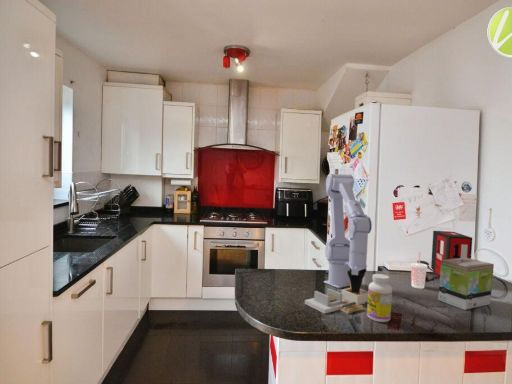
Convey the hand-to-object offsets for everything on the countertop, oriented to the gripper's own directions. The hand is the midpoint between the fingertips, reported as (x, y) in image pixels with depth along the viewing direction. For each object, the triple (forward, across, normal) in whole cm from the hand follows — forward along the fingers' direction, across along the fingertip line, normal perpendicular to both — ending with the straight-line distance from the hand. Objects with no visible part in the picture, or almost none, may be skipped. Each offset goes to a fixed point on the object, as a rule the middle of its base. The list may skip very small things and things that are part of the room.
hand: (356, 290), depth 110 cm
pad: (+2, +9, -8) cm, 12 cm away
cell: (+2, 0, 0) cm, 2 cm away
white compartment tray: (+3, +9, -8) cm, 13 cm away
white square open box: (+3, 0, 0) cm, 3 cm away
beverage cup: (+4, -30, +21) cm, 36 cm away
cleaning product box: (+4, -50, +34) cm, 61 cm away
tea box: (+4, -18, +35) cm, 39 cm away
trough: (+3, +9, 0) cm, 10 cm away
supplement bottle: (+4, +12, +8) cm, 15 cm away
